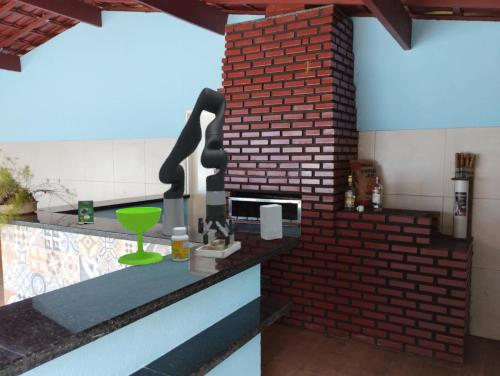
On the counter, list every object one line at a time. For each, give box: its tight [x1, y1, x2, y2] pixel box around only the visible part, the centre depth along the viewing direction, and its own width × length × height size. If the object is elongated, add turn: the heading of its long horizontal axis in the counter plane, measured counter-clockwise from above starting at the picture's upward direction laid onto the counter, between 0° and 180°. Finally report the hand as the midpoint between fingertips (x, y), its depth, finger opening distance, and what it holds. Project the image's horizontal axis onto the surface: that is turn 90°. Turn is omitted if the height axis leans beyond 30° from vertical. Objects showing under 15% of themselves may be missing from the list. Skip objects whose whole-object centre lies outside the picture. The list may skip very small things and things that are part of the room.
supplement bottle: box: [170, 226, 190, 262], centre depth 151 cm, size 6×6×11 cm
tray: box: [194, 239, 242, 259], centre depth 162 cm, size 12×18×2 cm, turn 161°
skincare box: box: [259, 203, 283, 241], centre depth 186 cm, size 8×6×15 cm
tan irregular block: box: [203, 239, 233, 251], centre depth 162 cm, size 13×8×3 cm, turn 161°
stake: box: [227, 226, 235, 242], centre depth 177 cm, size 2×2×7 cm
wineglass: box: [115, 206, 164, 266], centre depth 152 cm, size 16×16×18 cm
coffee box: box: [77, 200, 95, 223], centre depth 234 cm, size 8×3×13 cm, turn 119°
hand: (216, 245), depth 160 cm, fingers open, 8 cm apart
